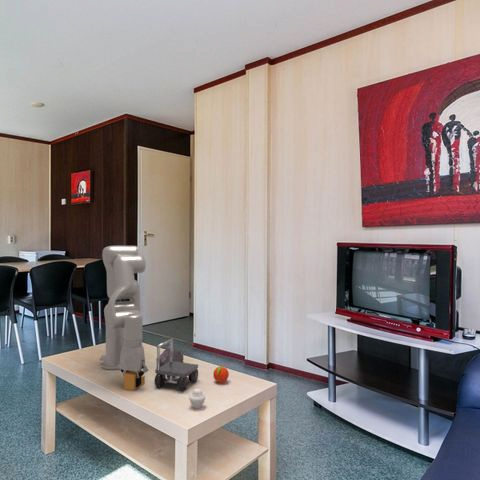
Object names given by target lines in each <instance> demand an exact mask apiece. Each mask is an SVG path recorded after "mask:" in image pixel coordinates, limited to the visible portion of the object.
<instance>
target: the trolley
mask: <svg viewBox="0 0 480 480" xmlns="http://www.w3.org/2000/svg"><path fill="white" fill-rule="evenodd" d="M173 343H174V338H170V339H167V340H166V341H163V342H161V343H160V344H157V345H156V359H157V360H156V369H155V372H154V373H155V376H154V382H153V383H154V386H155V387H156V388H163V387H164V385H165V383H167V384H168V383H169V384H176V386H177V387H176V388H177V390H178V391H181V392H185V391H186V390H187V388H188V385H189V383H193V384H195V383H196V382H197V381H198V378H199V370H198V368H199V364H194V363H188V362H183V363H182V362H175V361H172V353H173V346H174V344H173ZM167 344H169V346H170V362H168V363H166V364H165V365H163V366H161V367H160V355H161V348H162V347H163V346H165V345H167ZM176 378H178V379H177V380H175V379H176Z"/></svg>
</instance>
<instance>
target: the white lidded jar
mask: <svg viewBox="0 0 480 480" xmlns="http://www.w3.org/2000/svg"><path fill="white" fill-rule="evenodd" d="M188 399H189V401H190V404H191V407H192V408H193V409H201V408H202V406H203V405H204V403H205V400H206V396H205V394H204V393H203V390H202V389H200V388H194V389H193V391H192V392H191V394H190V395H189V398H188Z"/></svg>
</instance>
